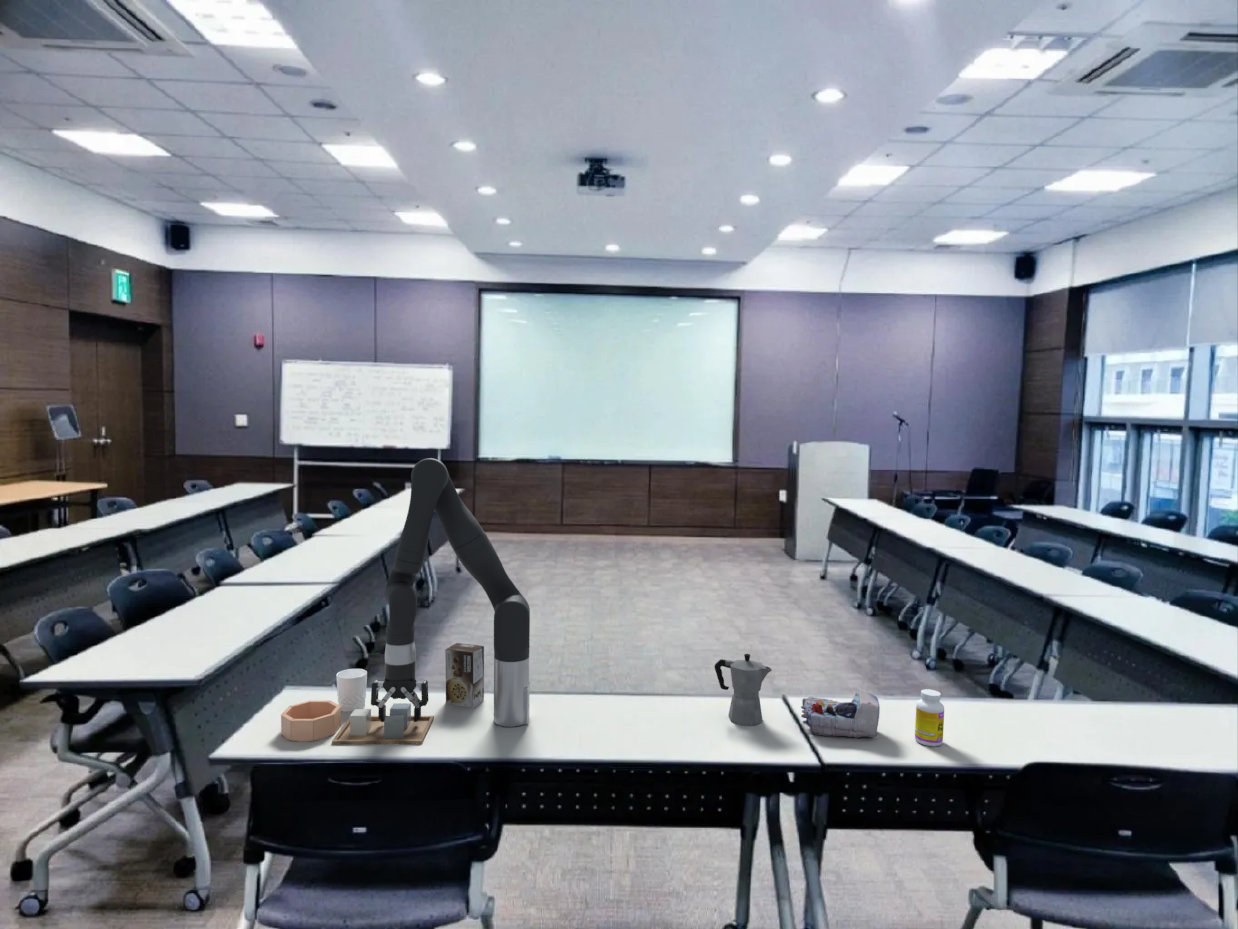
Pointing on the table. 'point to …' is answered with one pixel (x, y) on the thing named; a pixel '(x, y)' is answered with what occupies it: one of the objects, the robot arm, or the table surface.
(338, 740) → the walnut tray
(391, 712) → the pale blue cube
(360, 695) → the white cup
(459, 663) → the coffee box
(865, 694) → the cell model
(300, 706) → the terracotta bowl
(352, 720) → the pale grey cube
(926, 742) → the supplement bottle
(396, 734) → the medium grey cube
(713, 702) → the table surface
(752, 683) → the coffeepot
